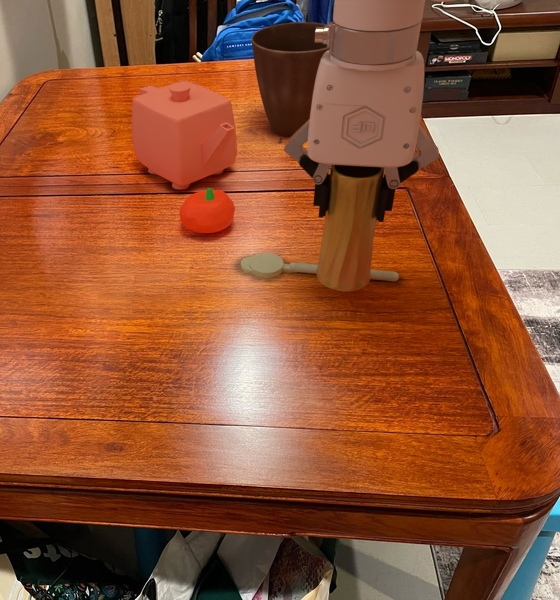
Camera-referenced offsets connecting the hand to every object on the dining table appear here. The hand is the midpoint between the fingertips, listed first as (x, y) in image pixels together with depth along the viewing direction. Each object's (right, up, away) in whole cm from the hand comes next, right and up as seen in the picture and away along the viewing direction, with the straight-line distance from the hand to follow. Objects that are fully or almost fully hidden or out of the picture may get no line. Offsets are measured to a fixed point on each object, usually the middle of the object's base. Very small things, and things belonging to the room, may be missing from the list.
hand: (351, 211), depth 67 cm
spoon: (-1, -6, +11) cm, 13 cm away
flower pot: (+3, +21, +44) cm, 49 cm away
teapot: (-16, +11, +35) cm, 40 cm away
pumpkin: (-14, 0, +21) cm, 25 cm away
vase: (+1, -7, +6) cm, 9 cm away
